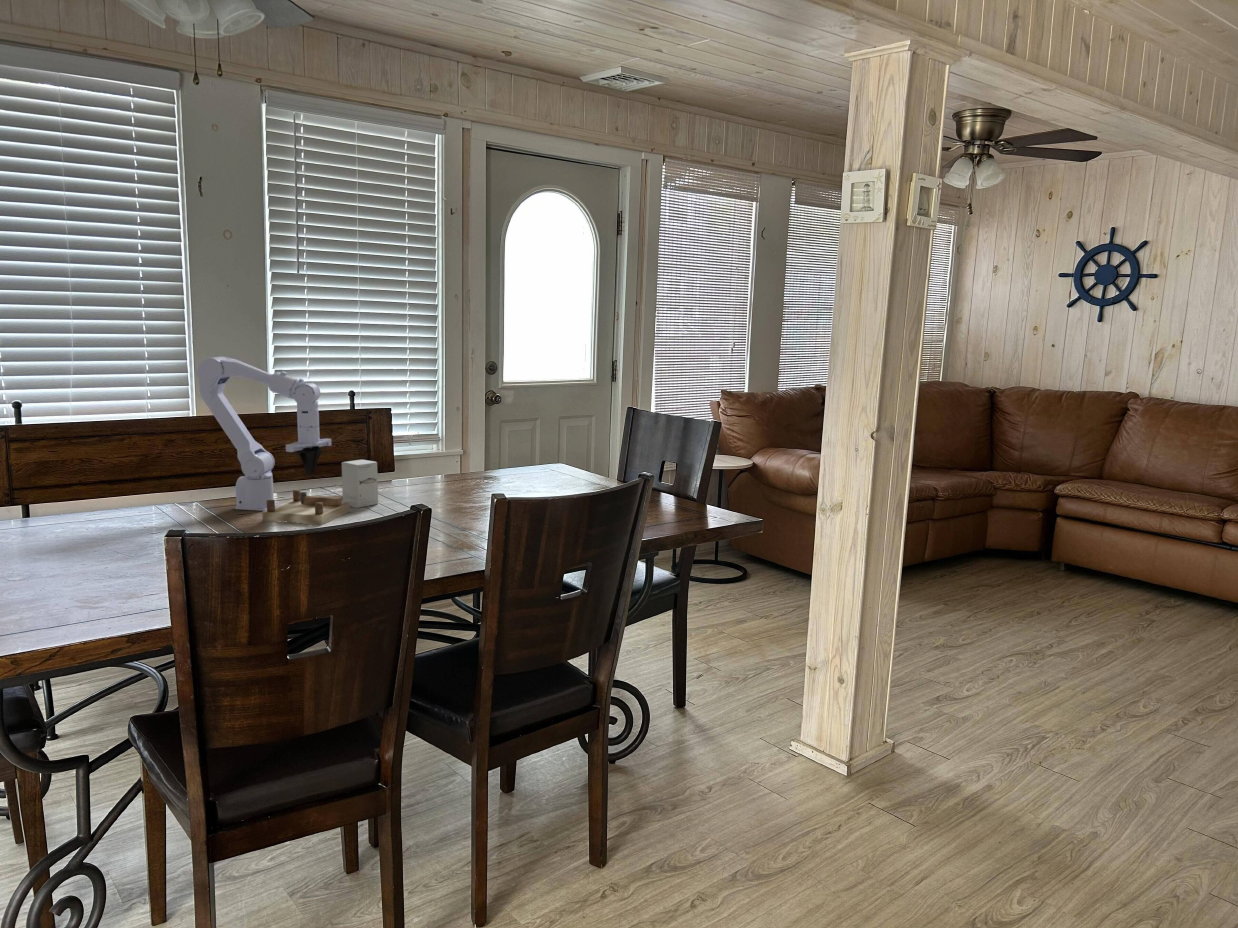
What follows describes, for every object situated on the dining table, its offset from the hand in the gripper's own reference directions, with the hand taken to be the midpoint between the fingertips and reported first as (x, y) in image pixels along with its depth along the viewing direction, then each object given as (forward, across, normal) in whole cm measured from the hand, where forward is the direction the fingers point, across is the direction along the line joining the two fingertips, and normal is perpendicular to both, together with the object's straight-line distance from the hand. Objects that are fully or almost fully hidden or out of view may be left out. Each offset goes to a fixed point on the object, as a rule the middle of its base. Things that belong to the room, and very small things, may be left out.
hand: (310, 473), depth 256 cm
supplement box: (+10, +11, -8) cm, 17 cm away
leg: (+7, -4, -8) cm, 11 cm away
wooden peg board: (+10, -7, -6) cm, 14 cm away
